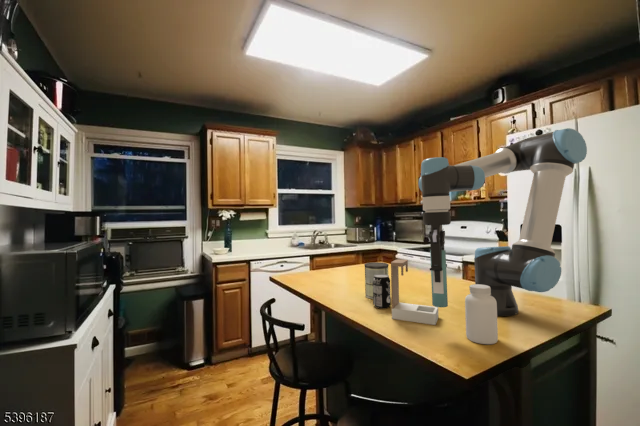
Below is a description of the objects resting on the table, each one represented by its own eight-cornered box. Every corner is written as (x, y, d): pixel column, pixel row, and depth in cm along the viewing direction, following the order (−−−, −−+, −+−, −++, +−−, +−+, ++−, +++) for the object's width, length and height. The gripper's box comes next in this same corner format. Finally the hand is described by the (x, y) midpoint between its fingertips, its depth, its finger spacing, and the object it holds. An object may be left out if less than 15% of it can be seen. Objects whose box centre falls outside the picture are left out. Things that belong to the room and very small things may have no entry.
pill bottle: (460, 334, 89) (459, 283, 89) (486, 333, 90) (485, 282, 90) (476, 346, 81) (475, 290, 81) (504, 344, 82) (503, 289, 82)
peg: (448, 303, 90) (446, 249, 90) (447, 308, 86) (444, 251, 86) (433, 302, 91) (431, 249, 91) (431, 306, 88) (429, 251, 88)
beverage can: (389, 304, 120) (388, 273, 120) (391, 309, 114) (391, 277, 114) (372, 303, 121) (372, 273, 121) (374, 308, 114) (373, 277, 114)
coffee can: (362, 294, 136) (361, 262, 136) (383, 292, 138) (383, 261, 138) (369, 300, 126) (369, 266, 126) (393, 298, 127) (392, 265, 127)
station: (438, 317, 104) (437, 261, 104) (435, 325, 97) (434, 265, 97) (397, 311, 110) (396, 259, 111) (391, 318, 103) (390, 262, 104)
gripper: (427, 211, 98) (430, 283, 98) (417, 212, 83) (421, 297, 83) (452, 210, 94) (455, 285, 94) (447, 211, 79) (450, 300, 79)
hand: (439, 290), depth 89 cm, fingers closed on peg, 4 cm apart
